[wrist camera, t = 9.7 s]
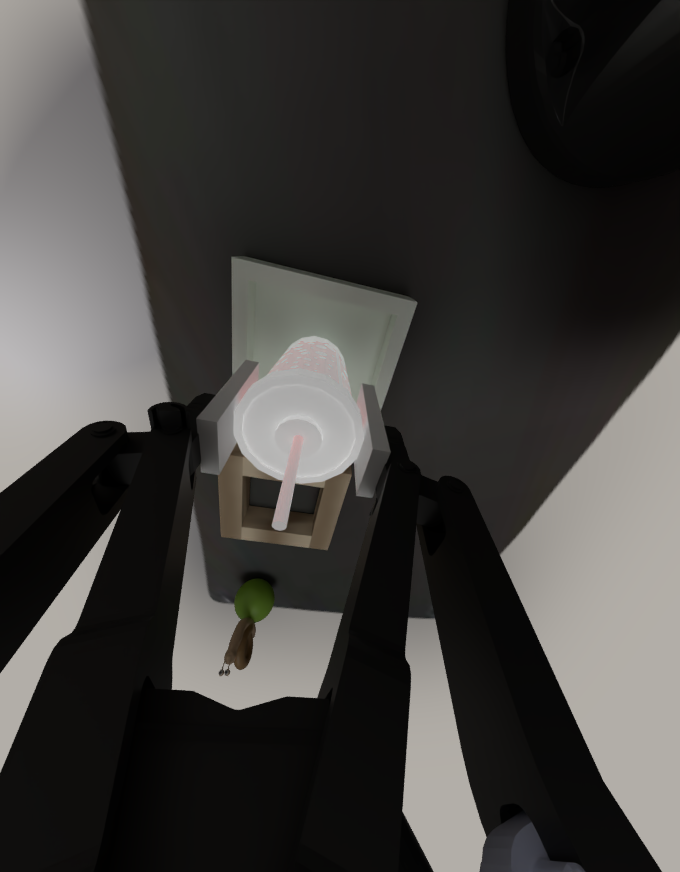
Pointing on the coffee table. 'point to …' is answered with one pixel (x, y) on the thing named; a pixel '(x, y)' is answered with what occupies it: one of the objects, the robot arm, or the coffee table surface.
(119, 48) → the coffee table surface
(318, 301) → the tray
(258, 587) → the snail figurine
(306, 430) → the beverage cup
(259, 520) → the socket holder
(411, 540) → the robot arm
